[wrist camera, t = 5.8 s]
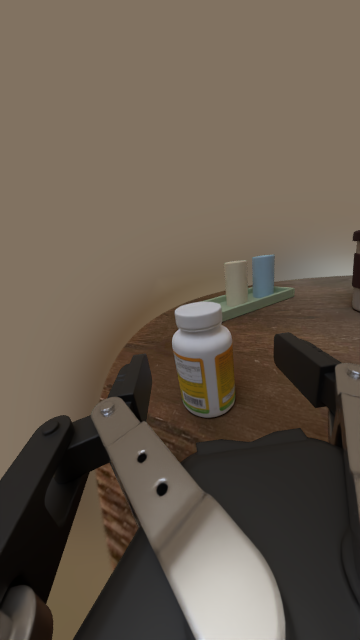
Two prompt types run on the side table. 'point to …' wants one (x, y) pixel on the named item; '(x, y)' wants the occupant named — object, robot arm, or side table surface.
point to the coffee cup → (356, 273)
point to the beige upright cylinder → (236, 283)
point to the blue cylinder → (263, 276)
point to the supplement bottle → (204, 359)
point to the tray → (252, 302)
